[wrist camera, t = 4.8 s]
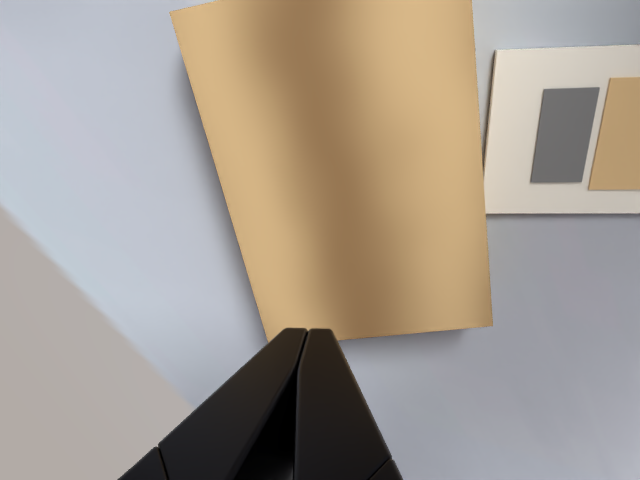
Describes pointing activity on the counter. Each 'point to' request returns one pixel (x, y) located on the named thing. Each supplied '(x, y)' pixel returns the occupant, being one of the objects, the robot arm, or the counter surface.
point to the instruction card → (564, 131)
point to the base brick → (347, 158)
